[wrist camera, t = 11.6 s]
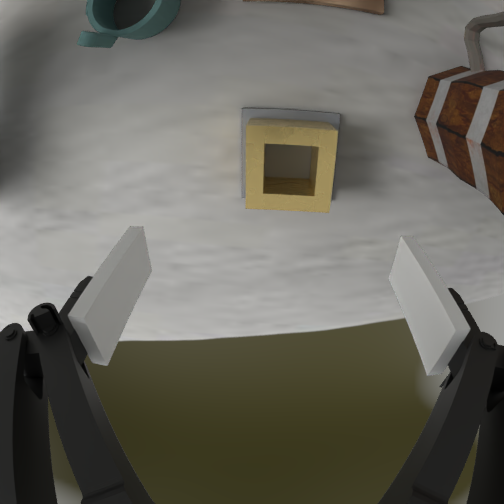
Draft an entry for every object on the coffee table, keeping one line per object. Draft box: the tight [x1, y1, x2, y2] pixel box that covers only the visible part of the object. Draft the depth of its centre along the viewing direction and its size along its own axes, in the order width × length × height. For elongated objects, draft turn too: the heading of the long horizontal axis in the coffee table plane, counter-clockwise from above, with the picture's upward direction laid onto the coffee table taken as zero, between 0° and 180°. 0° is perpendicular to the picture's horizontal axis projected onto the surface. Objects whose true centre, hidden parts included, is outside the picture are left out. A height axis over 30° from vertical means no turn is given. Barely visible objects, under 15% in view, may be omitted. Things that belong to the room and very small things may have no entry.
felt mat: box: [242, 108, 340, 199], centre depth 31 cm, size 10×10×1 cm
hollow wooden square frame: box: [246, 118, 338, 213], centre depth 29 cm, size 8×8×5 cm
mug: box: [414, 12, 504, 215], centre depth 19 cm, size 20×14×15 cm
